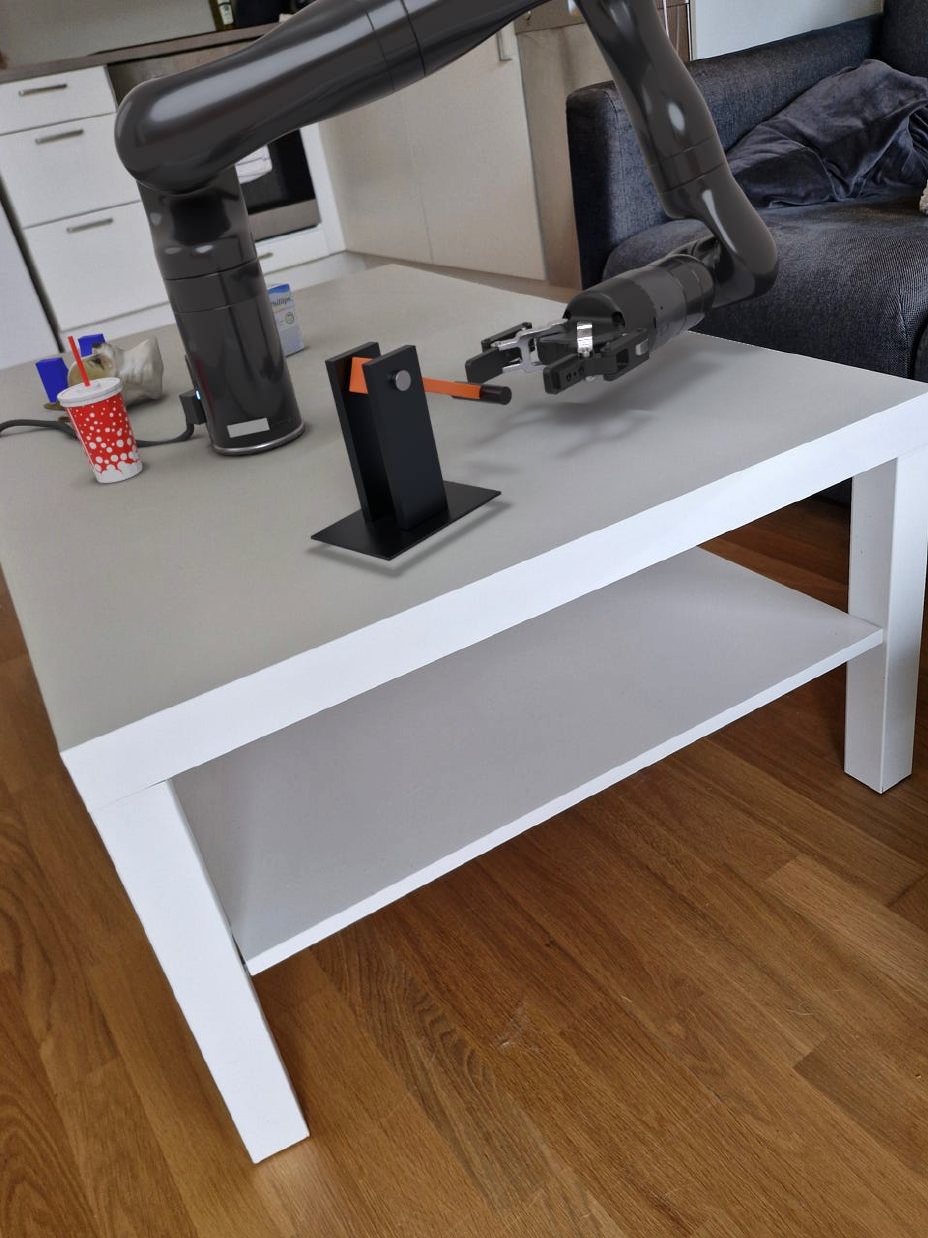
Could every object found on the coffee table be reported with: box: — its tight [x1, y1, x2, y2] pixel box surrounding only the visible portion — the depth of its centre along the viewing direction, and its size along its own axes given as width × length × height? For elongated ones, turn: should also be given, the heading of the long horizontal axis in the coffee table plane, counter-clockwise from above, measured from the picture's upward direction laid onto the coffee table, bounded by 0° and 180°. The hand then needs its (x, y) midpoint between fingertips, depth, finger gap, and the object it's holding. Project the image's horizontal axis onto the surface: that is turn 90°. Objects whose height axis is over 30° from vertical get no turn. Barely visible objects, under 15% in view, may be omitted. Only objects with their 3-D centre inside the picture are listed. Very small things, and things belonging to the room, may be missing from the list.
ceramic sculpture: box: [42, 334, 165, 424], centre depth 124 cm, size 11×9×15 cm
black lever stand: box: [310, 341, 502, 562], centre depth 76 cm, size 12×9×14 cm
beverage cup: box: [57, 335, 144, 484], centre depth 101 cm, size 6×6×14 cm
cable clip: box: [34, 333, 107, 403], centre depth 136 cm, size 12×4×6 cm, turn 168°
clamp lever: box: [349, 357, 513, 406], centre depth 78 cm, size 13×6×2 cm, turn 136°
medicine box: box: [265, 283, 306, 358], centre depth 136 cm, size 8×4×9 cm, turn 49°
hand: (507, 378), depth 84 cm, fingers open, 8 cm apart
